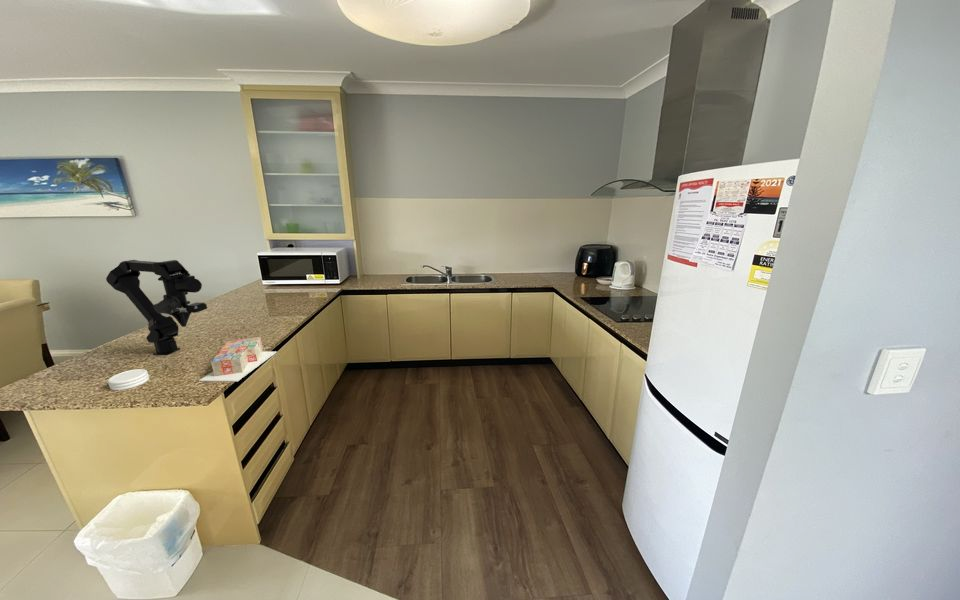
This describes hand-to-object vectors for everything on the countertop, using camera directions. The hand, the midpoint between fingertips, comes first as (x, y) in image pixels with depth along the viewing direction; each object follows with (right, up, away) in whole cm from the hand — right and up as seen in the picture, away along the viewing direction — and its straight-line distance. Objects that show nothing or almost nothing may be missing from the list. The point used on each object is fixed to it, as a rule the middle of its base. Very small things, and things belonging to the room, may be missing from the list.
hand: (184, 326), depth 137 cm
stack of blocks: (+21, -12, -6) cm, 25 cm away
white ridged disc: (-2, -20, -19) cm, 28 cm away
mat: (+28, -16, -5) cm, 33 cm away
